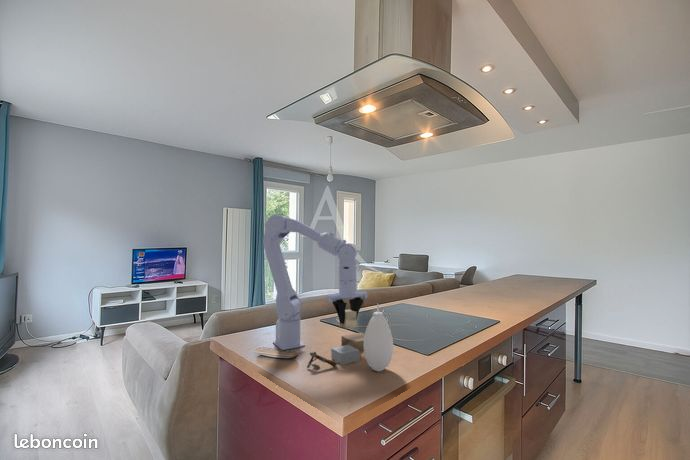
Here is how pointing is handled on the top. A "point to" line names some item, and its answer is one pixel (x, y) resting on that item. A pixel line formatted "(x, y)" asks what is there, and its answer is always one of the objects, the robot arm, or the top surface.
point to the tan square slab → (353, 340)
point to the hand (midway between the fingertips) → (347, 322)
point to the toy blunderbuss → (321, 360)
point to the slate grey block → (345, 354)
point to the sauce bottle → (378, 342)
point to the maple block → (349, 319)
